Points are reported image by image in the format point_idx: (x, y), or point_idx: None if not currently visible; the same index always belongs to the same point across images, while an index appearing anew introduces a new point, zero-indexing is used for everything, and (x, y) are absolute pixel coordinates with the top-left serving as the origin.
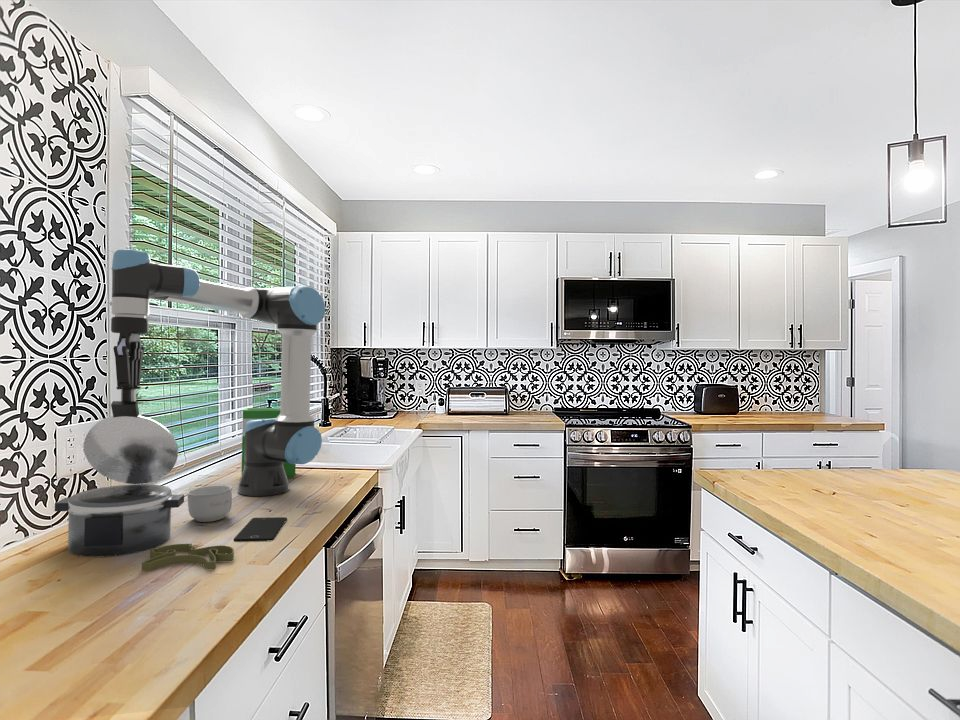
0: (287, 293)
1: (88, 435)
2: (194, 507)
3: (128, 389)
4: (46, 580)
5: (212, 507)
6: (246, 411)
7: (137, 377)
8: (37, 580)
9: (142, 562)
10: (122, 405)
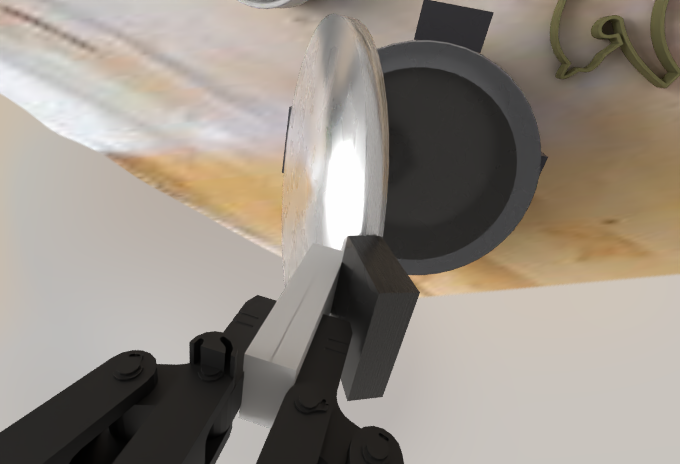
0: None
1: None
2: None
3: (336, 407)
4: (598, 239)
5: None
6: None
7: (94, 431)
8: (588, 250)
9: (664, 86)
10: (396, 347)
